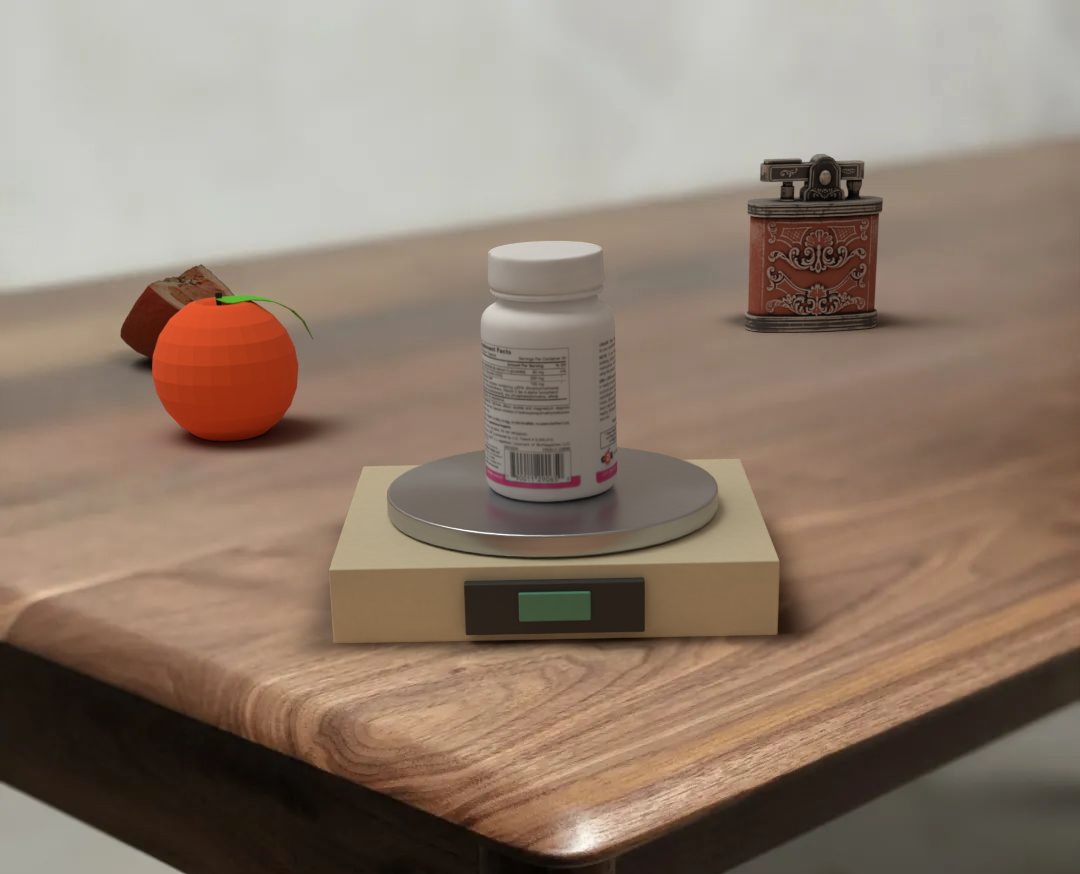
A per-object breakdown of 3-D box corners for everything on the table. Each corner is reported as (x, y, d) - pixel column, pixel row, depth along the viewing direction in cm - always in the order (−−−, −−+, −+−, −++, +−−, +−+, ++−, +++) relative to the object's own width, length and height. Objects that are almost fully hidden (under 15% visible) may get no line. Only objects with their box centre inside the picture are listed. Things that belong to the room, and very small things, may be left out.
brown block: (162, 343, 112) (153, 259, 110) (267, 346, 110) (260, 261, 108) (103, 373, 104) (93, 284, 102) (216, 376, 103) (207, 286, 101)
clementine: (293, 414, 94) (283, 273, 91) (346, 443, 88) (336, 293, 86) (141, 435, 91) (125, 289, 88) (185, 467, 85) (170, 311, 82)
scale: (738, 530, 74) (740, 458, 73) (779, 650, 62) (781, 565, 61) (367, 538, 74) (362, 465, 73) (332, 659, 62) (326, 574, 61)
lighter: (869, 318, 114) (877, 150, 110) (882, 329, 111) (891, 156, 107) (740, 322, 114) (744, 154, 110) (749, 333, 111) (753, 160, 107)
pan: (703, 460, 73) (704, 440, 72) (733, 554, 62) (733, 531, 61) (399, 466, 73) (398, 446, 72) (374, 561, 62) (373, 539, 61)
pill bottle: (564, 461, 70) (560, 234, 67) (643, 487, 66) (644, 249, 63) (459, 483, 67) (450, 248, 64) (536, 512, 64) (531, 264, 60)
